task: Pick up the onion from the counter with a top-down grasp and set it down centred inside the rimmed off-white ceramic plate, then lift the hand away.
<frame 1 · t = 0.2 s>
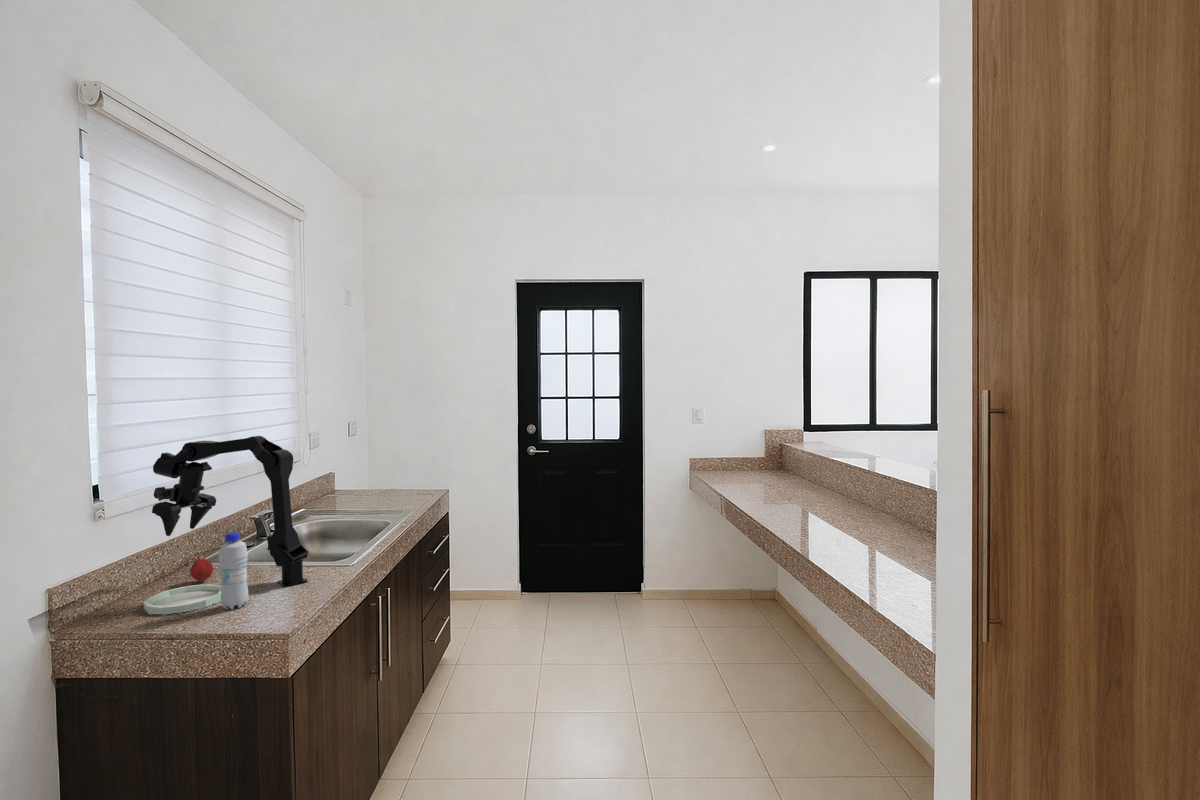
hand: (180, 532, 184), 15 cm above the counter, tool pointing down, fingers open, 9 cm apart
onion: (202, 582, 185), on the counter
bottle: (235, 607, 164), on the counter
plate: (186, 602, 167), on the counter
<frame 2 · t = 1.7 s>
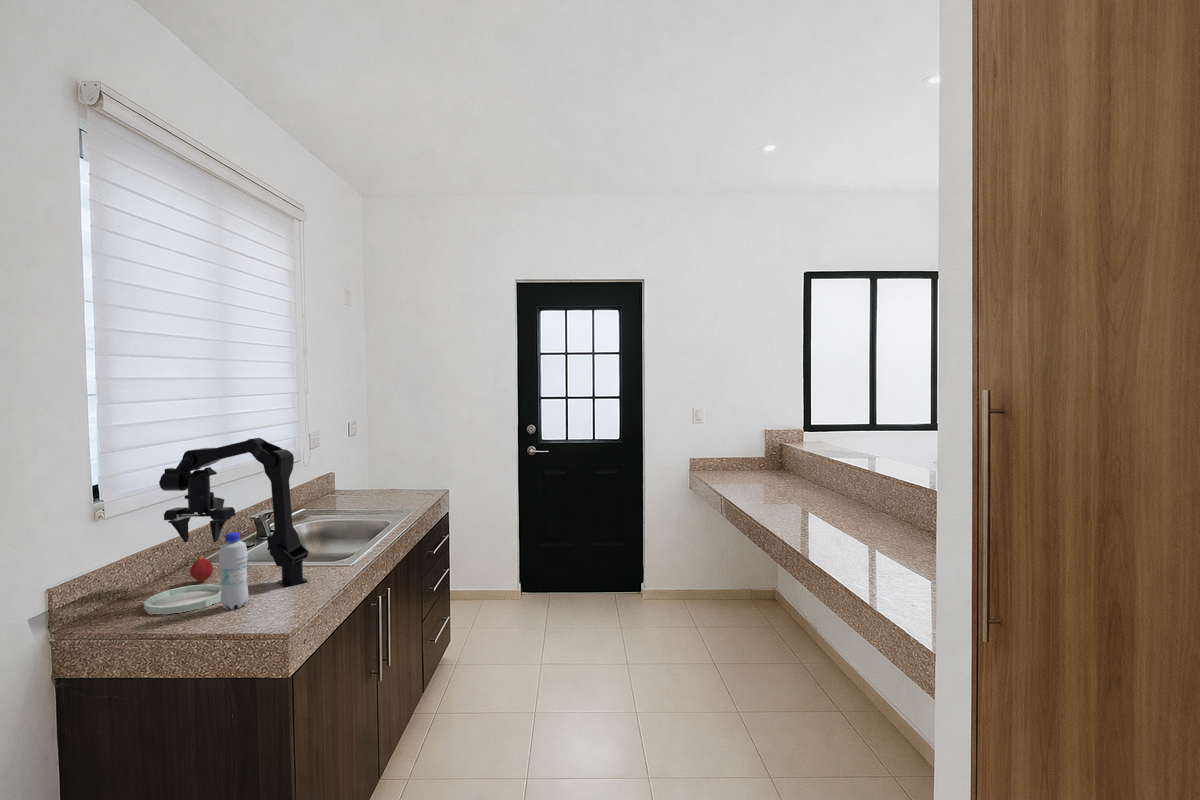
hand: (200, 541, 185), 12 cm above the counter, tool pointing down, fingers open, 9 cm apart
nothing on the counter moved.
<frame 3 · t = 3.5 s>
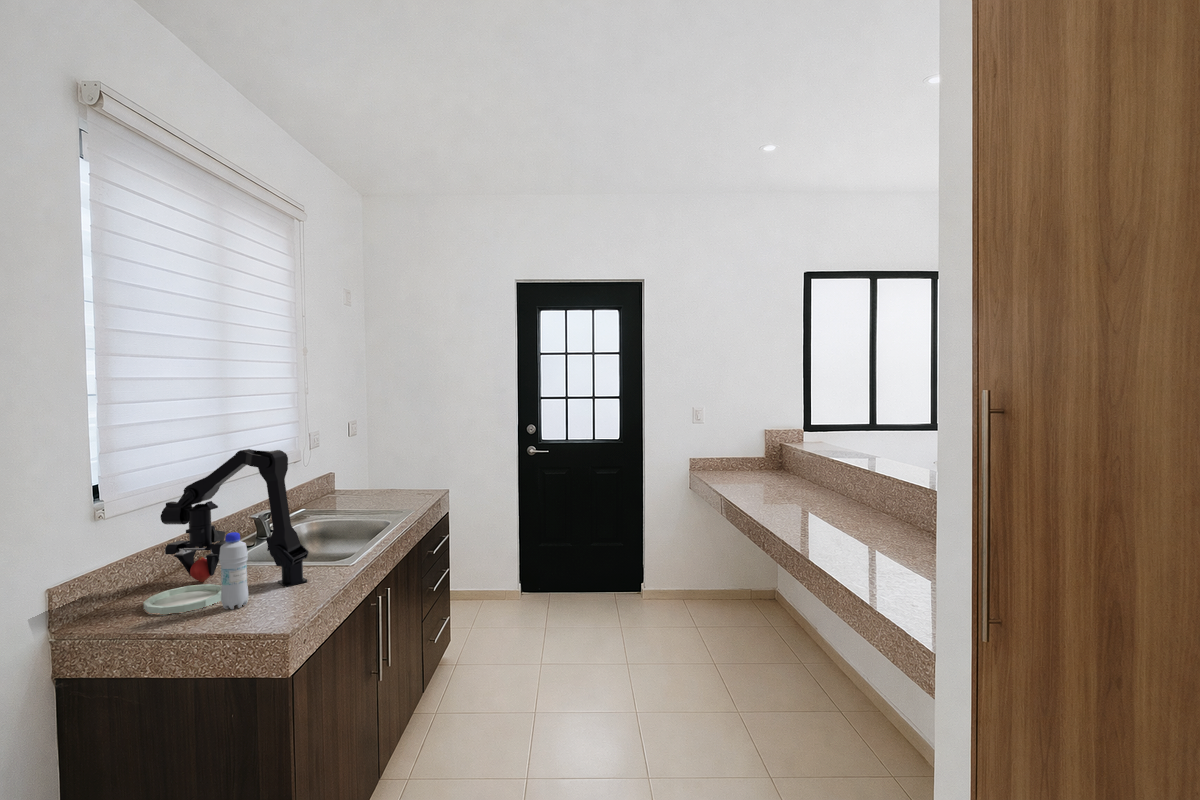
hand: (202, 575, 185), 2 cm above the counter, tool pointing down, fingers closed on onion, 6 cm apart
onion: (202, 582, 185), on the counter, touching gripper
everything else where it was.
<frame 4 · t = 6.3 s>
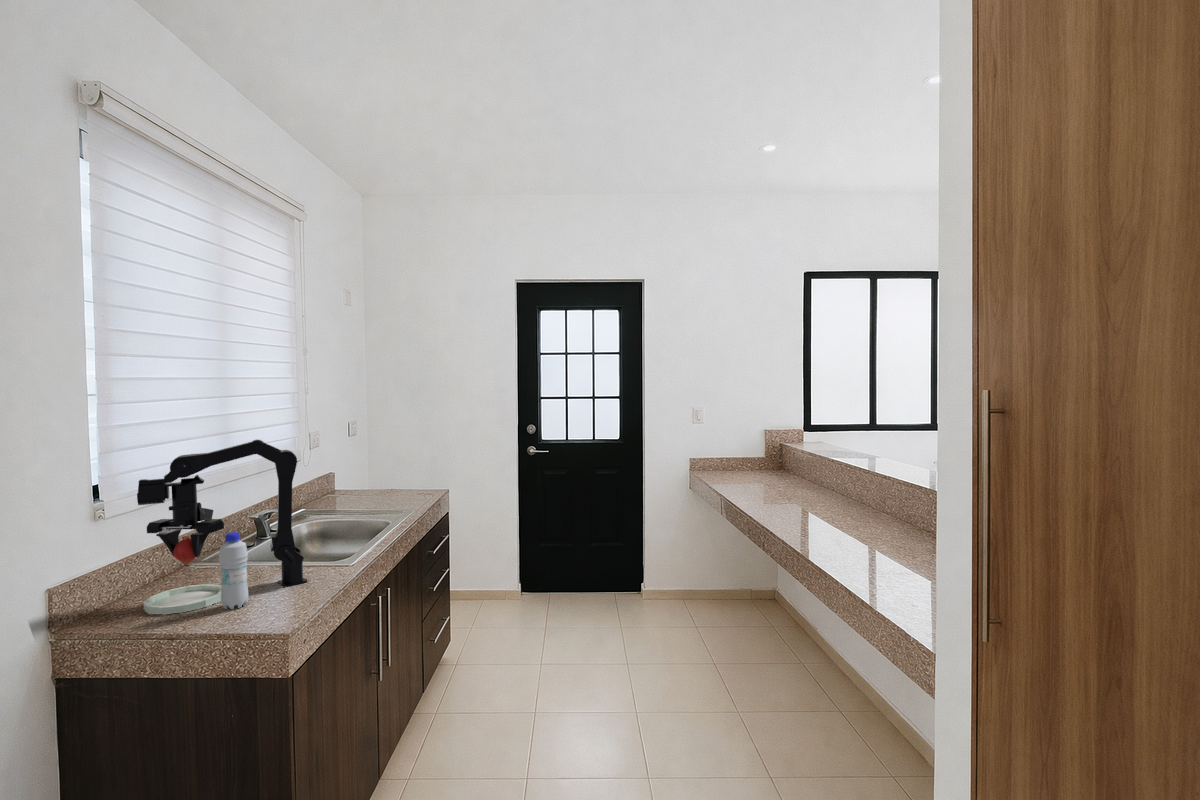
hand: (186, 556, 170), 12 cm above the counter, tool pointing down, fingers closed on onion, 6 cm apart
onion: (187, 564, 170), point 10 cm above the counter, touching gripper
everything else where it was.
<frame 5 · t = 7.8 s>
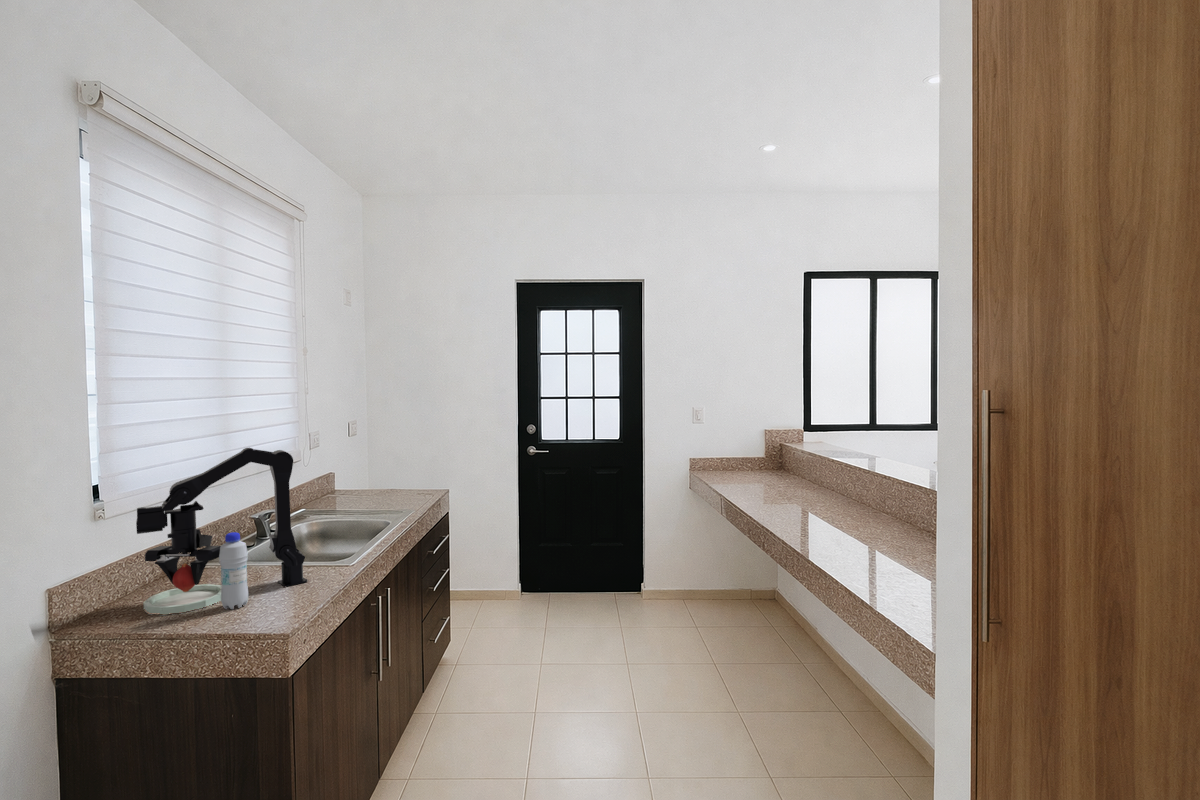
hand: (186, 584, 167), 5 cm above the counter, tool pointing down, fingers closed on onion, 6 cm apart
onion: (186, 592, 167), point 3 cm above the counter, touching gripper
everything else where it was.
when the fingers open (4 cm above the counter, at t = 8.9 s): onion drops 1 cm, resting on plate.
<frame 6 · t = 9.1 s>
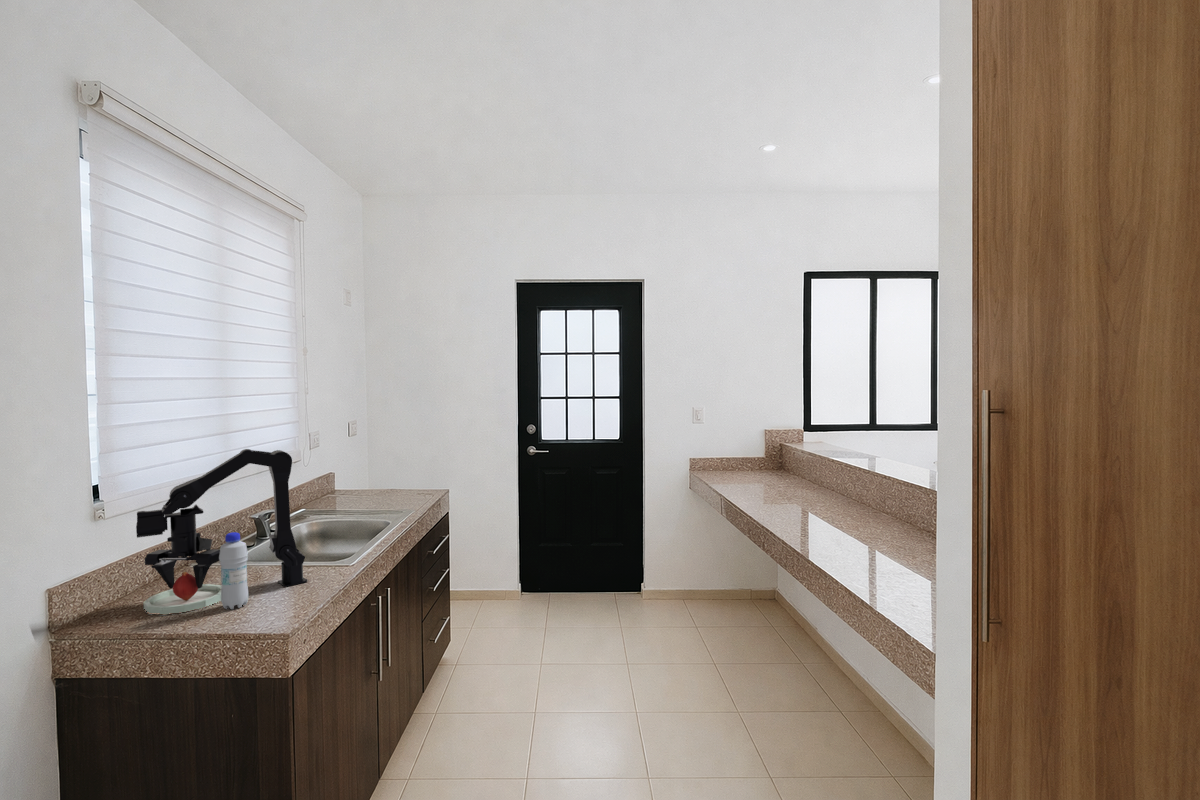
hand: (185, 588, 167), 4 cm above the counter, tool pointing down, fingers open, 8 cm apart
onion: (186, 601, 167), resting on plate
everything else where it was.
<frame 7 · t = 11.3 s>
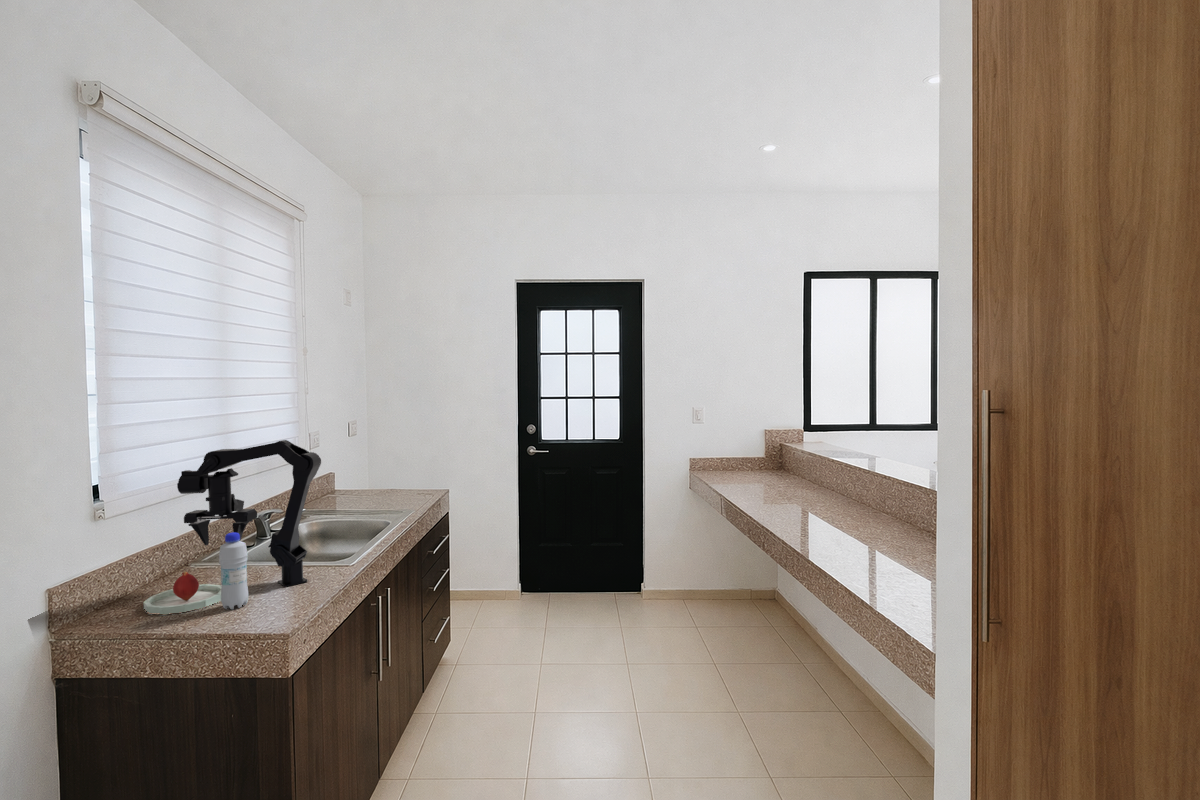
hand: (222, 544, 181), 12 cm above the counter, tool pointing down, fingers open, 9 cm apart
nothing on the counter moved.
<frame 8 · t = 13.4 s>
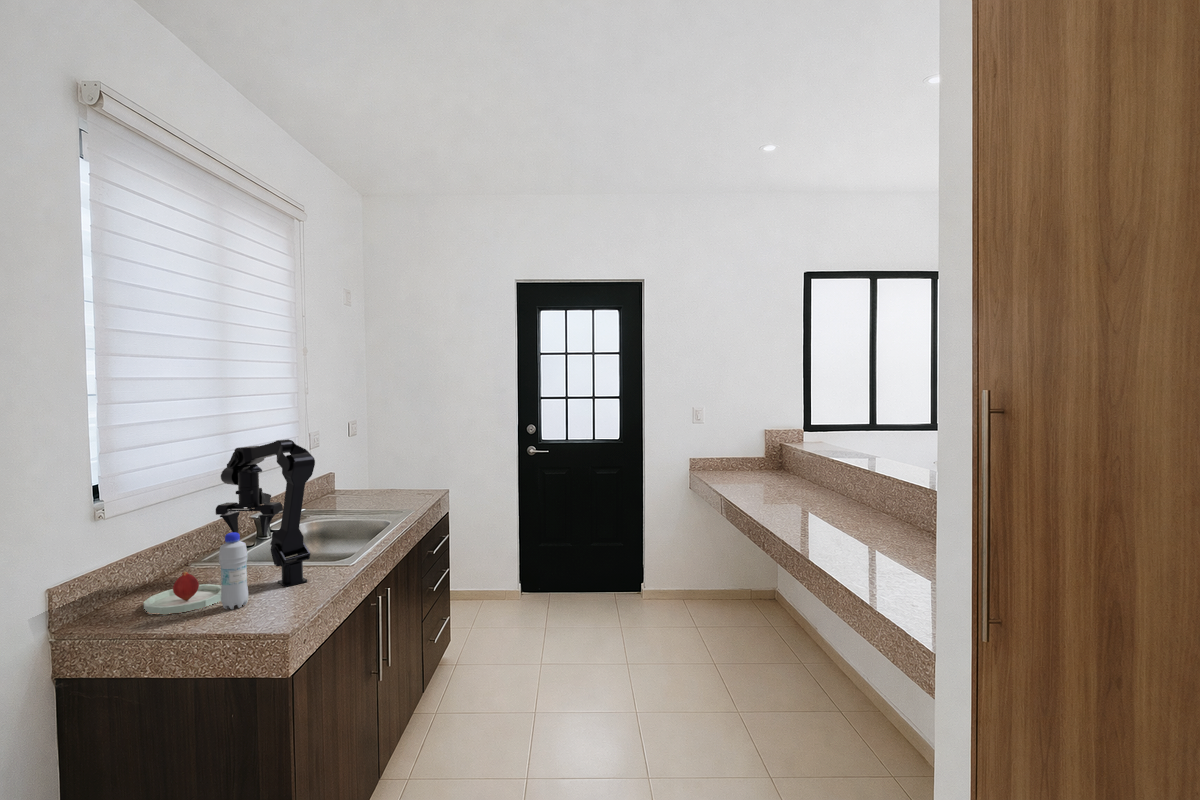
hand: (250, 535, 193), 12 cm above the counter, tool pointing down, fingers open, 9 cm apart
nothing on the counter moved.
at the end: onion 0.1 cm from the plate (horizontally); onion touching plate; the gripper is holding nothing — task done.
